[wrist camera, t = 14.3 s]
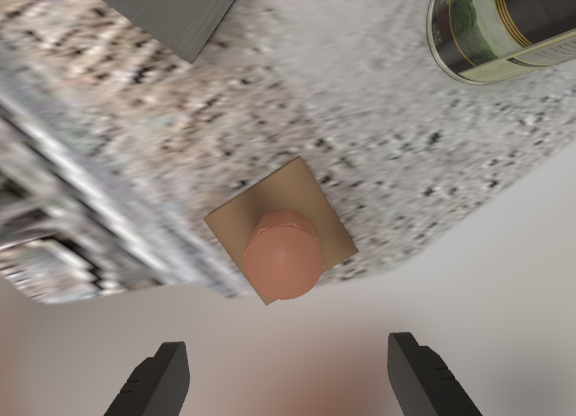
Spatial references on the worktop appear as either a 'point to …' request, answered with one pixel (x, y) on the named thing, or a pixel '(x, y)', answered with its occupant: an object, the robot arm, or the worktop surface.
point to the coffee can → (500, 37)
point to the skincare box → (175, 21)
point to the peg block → (276, 197)
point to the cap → (283, 255)
